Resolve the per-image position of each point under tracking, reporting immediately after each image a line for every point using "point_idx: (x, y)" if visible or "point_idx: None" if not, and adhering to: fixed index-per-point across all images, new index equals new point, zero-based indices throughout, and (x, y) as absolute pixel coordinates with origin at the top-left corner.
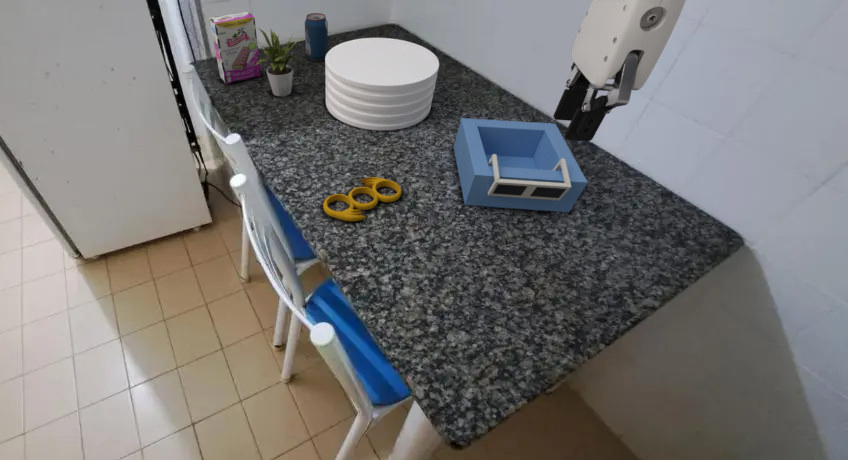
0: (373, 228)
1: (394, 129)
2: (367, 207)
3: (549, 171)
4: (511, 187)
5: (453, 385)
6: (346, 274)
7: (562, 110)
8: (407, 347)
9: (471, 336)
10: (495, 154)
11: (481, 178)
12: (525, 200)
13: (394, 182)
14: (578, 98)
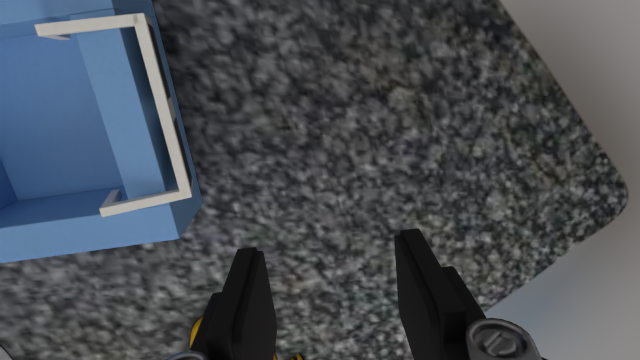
0: (312, 336)
1: (2, 348)
2: (274, 357)
3: (91, 62)
4: (183, 154)
5: (567, 209)
6: (411, 352)
7: (271, 346)
8: (518, 266)
9: (494, 188)
10: (100, 211)
11: (177, 219)
12: None
13: (196, 332)
14: (254, 358)
